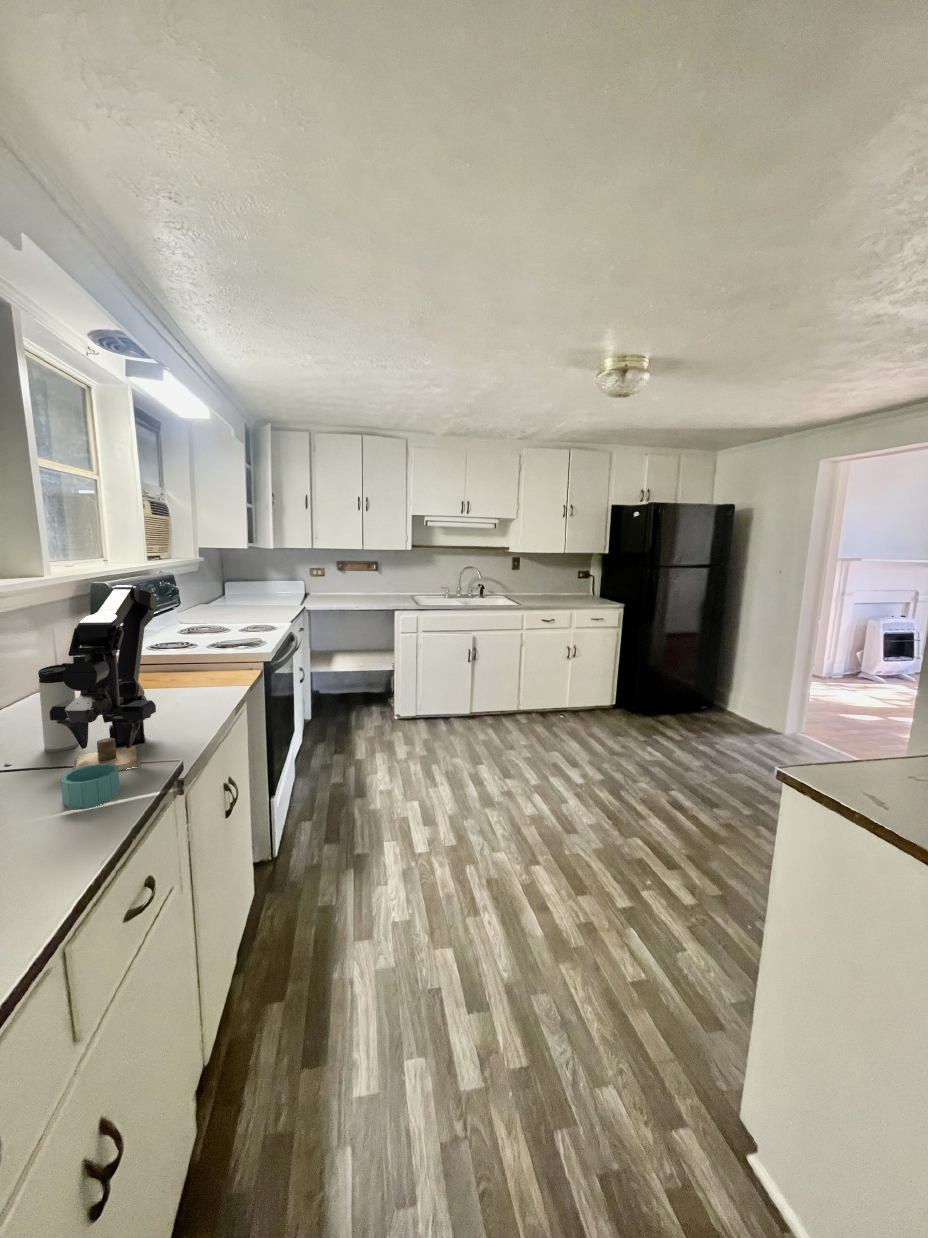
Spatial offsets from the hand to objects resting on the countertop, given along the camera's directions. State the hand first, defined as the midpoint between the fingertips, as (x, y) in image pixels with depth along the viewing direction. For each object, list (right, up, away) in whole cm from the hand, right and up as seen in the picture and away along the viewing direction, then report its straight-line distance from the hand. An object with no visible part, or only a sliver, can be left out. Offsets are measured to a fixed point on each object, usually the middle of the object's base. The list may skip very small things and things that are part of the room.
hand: (106, 748), depth 106 cm
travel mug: (-17, -3, +9) cm, 20 cm away
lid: (0, -4, 0) cm, 4 cm away
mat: (0, -4, 0) cm, 4 cm away
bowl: (+7, -6, -14) cm, 17 cm away
